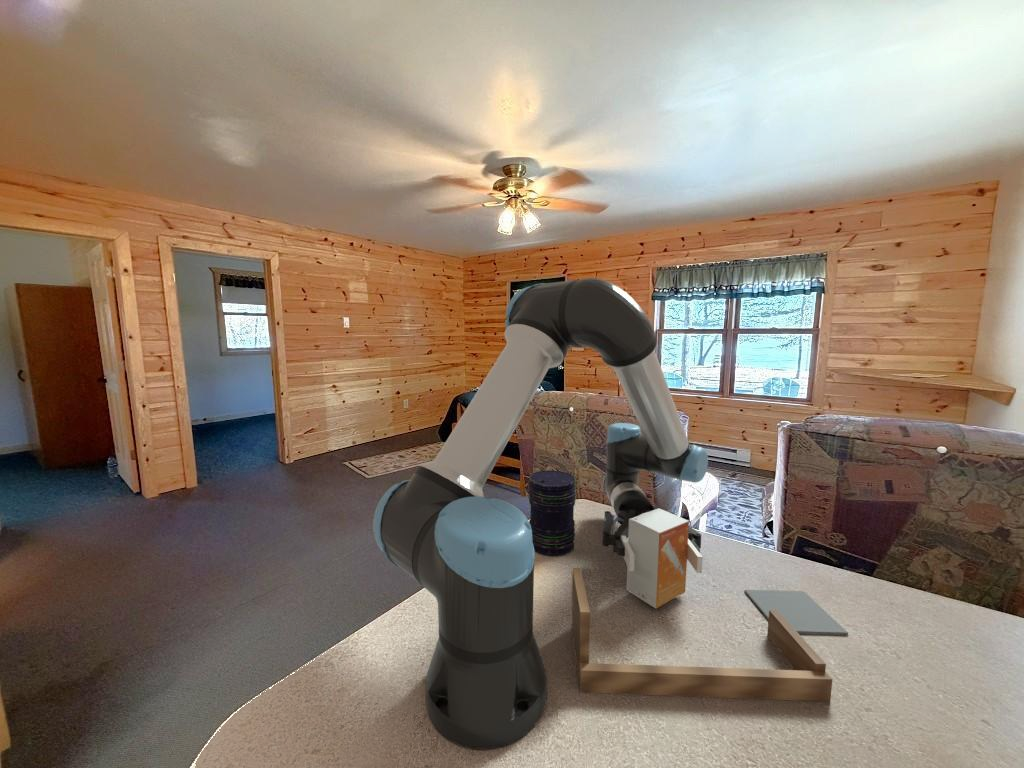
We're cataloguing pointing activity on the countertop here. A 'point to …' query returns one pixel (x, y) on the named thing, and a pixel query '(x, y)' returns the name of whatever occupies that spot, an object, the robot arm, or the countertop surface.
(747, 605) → the countertop surface
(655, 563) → the small box
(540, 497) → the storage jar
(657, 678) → the wooden u-shaped frame
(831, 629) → the mat
